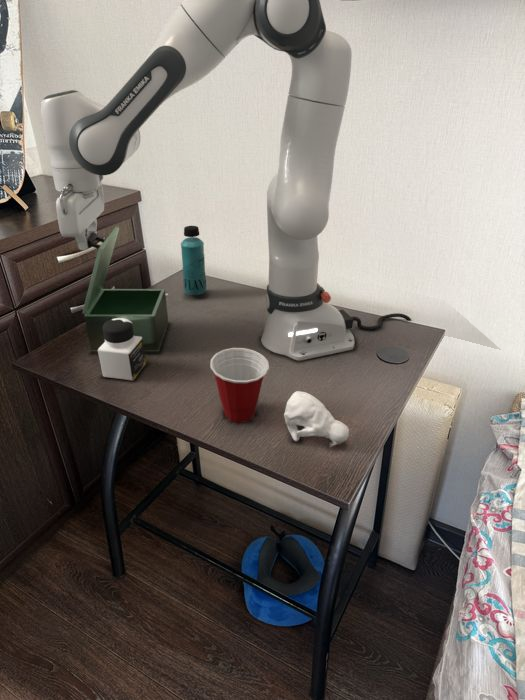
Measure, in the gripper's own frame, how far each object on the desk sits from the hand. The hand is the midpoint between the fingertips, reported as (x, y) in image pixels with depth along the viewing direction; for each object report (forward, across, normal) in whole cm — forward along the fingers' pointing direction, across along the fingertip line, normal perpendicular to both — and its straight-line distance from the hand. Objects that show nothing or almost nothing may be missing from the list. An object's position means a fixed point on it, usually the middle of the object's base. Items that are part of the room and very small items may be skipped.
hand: (88, 244), depth 110 cm
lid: (+6, 0, -2) cm, 7 cm away
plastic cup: (+24, -30, -34) cm, 51 cm away
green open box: (+24, 0, -6) cm, 25 cm away
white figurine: (+24, -36, -48) cm, 65 cm away
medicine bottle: (+24, -14, -8) cm, 29 cm away
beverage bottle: (+24, +25, -19) cm, 39 cm away
